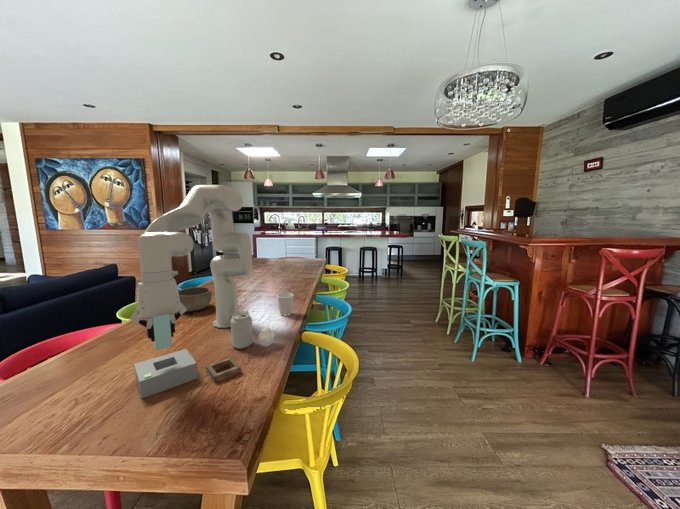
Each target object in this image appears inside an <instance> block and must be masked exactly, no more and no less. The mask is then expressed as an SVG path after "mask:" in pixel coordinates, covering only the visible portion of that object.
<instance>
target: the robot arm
mask: <svg viewBox="0 0 680 509" xmlns="http://www.w3.org/2000/svg"><path fill="white" fill-rule="evenodd" d="M243 199H244V198H243V197H242V193H240V192H239V191H238V190H237V189H234V188H232V187H230V186H227V185H222V184H197V185H194V186H193V187H192V188H191V189H190V190H189V191H188V193H187V195H186V196H185V197H184V199H183V200H182V201H181V203H180V205H178V207H177V208H174V209H173V210H170V211H168V212H165V213H164V214H162V215H161V216H158V217H157V218H156V219H154V220H153V221H152V222H151V223H150V224H149V225H148V227H147V228H146V229H145V230H144V232H143V233H142V234H141V235H139V236H138V238H137V248H138V260H139V269H140V282H137V288H136V309H135V310H134V311H133V314H132V315H131V317H130V318H129V319H130V320H129V321H130V322H132V323H135V324H138V325H141V326H142V327H145V328H146V331H147V334H146V335H147V339H148V340H149V339H150V340H151V342H152V343H153V341H155V338H154V328H153V325H152V321H153V317H155V316H160V315H165V314H170V327H171V338H172V337H174V333H176V325H175V324H176V321H177V320H178V319H179V318H180V317H181V316H182V315H183V314H184V313H186V312H188V311H187V308H186V307H185V306H184V305H183V304H182V303H181V302H180V298H179V293H178V291H179V288H178V284H177V281H176V278H175V276H178V275H179V272H178V270H174V269H173V265H172V257H184V256H187V255H189V254H190V253H191V252H192V251H193V250H194V249H193V248H194V239H193V237H191V235H190V234H188V233H186V232H181V231H182V230H183V231H184V230H187V229H191V228H192V227H193V228H194V227H196V226H198V225H200V224H201V223H202V222H203V221H204V219H205V218H206V215H207V214H208V216H209V217H210V220H211V224H212V226H211V227H212V228H211V229H212V245H213V248H214V250H215V251H216V252H218V253H238V255H234V254H233V255H231V254H227V255H223V254H221V255H216V256H214V257H213V258H212V259H211V260H210V264H209V266H210V271H211V274H212V279H213V287H214V290H213V291H214V300H215V302H214V304H215V320H213V321H212V326H214V328H219V329H226V328H231V319H232V316H233V315H235V314H238V313H248V314H250V312H249V310H246V311H244V310H240V311H239V303H238V302H239V300H238V299H239V298H238V285H237V282H236V280H235V279H234V278H233V277H248V276H250V274H251V273H252V270H253V261H252V260H253V258H252V255H253V253H252V239H251V237H250V234H249V233H248V232H246V231H243V230H234V223H233V222H234V220H233V217H232V216H231V215H230V213H229V212H230V211H231V212H238V211H240V210H241V209H242V208H243V205H244V204H243V203H244V200H243Z"/></svg>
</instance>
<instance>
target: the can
mask: <svg viewBox="0 0 680 509" xmlns="http://www.w3.org/2000/svg"><path fill="white" fill-rule="evenodd" d="M252 323H253V321H252V317H251V316H250V313H249V314H248V313H238V314H235V315H233V316H232V319H231V327H230V334H231V335H230V336H231V337H230V338H231V346H232V347H234V348H235V349H239V350H241V349H242V350H243V349H246V348H248V347H250V346H251V345H252V344H253V342H254V341H253V324H252Z"/></svg>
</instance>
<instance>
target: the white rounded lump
mask: <svg viewBox="0 0 680 509" xmlns="http://www.w3.org/2000/svg"><path fill="white" fill-rule="evenodd" d="M257 338H258V341H259V343H260V344H261V346H262V347H270V346H271V345H272V344H273V341H274V340H275V333H274V332H273V331H272V329H271V328H270V327H263V328H262V329H261V331H260V332H259V334H258V336H257Z"/></svg>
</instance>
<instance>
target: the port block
mask: <svg viewBox="0 0 680 509" xmlns="http://www.w3.org/2000/svg"><path fill="white" fill-rule="evenodd" d="M197 365H198V363H197V361H195V359H194V357H193V356H192V355H191V353H190V352H189V350H188V349H187V348H184V349H181V350H177V351H174V352H169V353H168V354H167V353H166V354H163V355H160V356H157V357H153V358H150V359H146V360H143V361H139V362H136V363H134V364H133V368H134V374H135V381H136V385H137V390H138V392H139V396H140V399H141V400H142V399H144V398H145V399H146V398H147V397H150V396H153V395H156V394H158V393H161V392H164V391H167V390H169V389H172V388H175V387H177V386H180V385H183V384H185V383H189V382H191V381H193V380H194V381H195V380H196V379H199V374H198V366H197Z"/></svg>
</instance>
